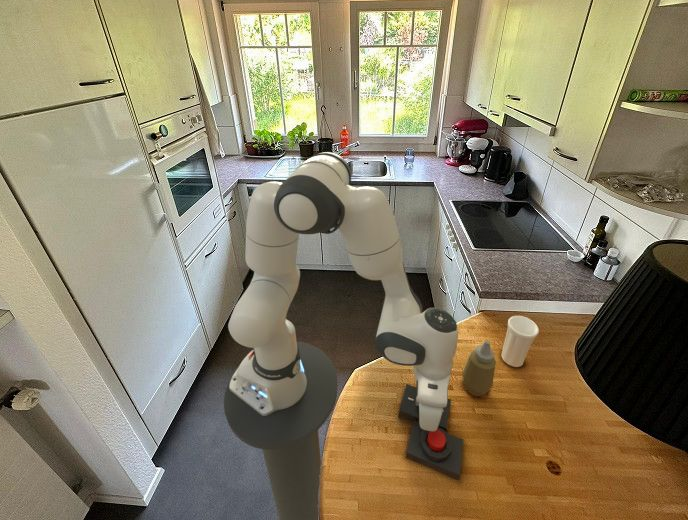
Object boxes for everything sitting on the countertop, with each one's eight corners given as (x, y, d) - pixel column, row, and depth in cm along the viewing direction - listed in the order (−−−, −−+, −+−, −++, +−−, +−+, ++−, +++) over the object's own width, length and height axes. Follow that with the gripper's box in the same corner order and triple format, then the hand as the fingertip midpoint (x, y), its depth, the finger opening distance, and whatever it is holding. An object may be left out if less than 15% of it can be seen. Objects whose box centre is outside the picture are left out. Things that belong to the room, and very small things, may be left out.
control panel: (397, 419, 83) (398, 412, 82) (406, 388, 91) (407, 381, 89) (445, 437, 79) (446, 430, 78) (449, 404, 87) (451, 396, 85)
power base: (405, 457, 76) (406, 448, 74) (413, 425, 82) (414, 415, 80) (458, 480, 72) (461, 471, 70) (461, 444, 78) (464, 434, 76)
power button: (425, 447, 74) (426, 443, 73) (429, 430, 77) (429, 426, 77) (443, 454, 73) (444, 450, 72) (446, 437, 76) (447, 433, 75)
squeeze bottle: (459, 395, 89) (471, 350, 81) (460, 371, 96) (470, 327, 87) (491, 404, 87) (506, 358, 78) (489, 378, 94) (502, 334, 85)
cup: (528, 373, 95) (541, 339, 88) (498, 366, 97) (509, 332, 90) (524, 352, 102) (536, 318, 95) (496, 345, 104) (506, 312, 97)
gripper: (419, 332, 86) (414, 366, 93) (417, 404, 69) (411, 441, 75) (443, 335, 85) (437, 370, 92) (447, 411, 68) (439, 447, 74)
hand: (425, 402), depth 83 cm, fingers open, 8 cm apart
